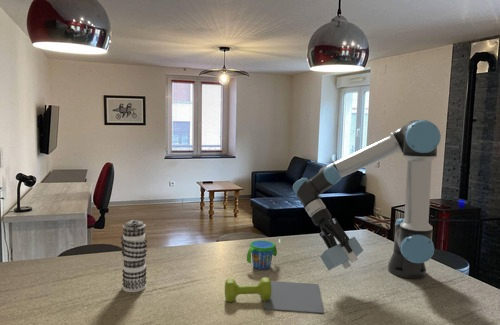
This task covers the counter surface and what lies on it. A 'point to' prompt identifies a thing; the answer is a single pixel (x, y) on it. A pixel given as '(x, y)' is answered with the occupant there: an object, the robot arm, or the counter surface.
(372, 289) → the counter surface
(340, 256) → the block
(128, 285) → the patterned white cylinder
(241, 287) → the dumbbell
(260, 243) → the snack cup
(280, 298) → the mat
